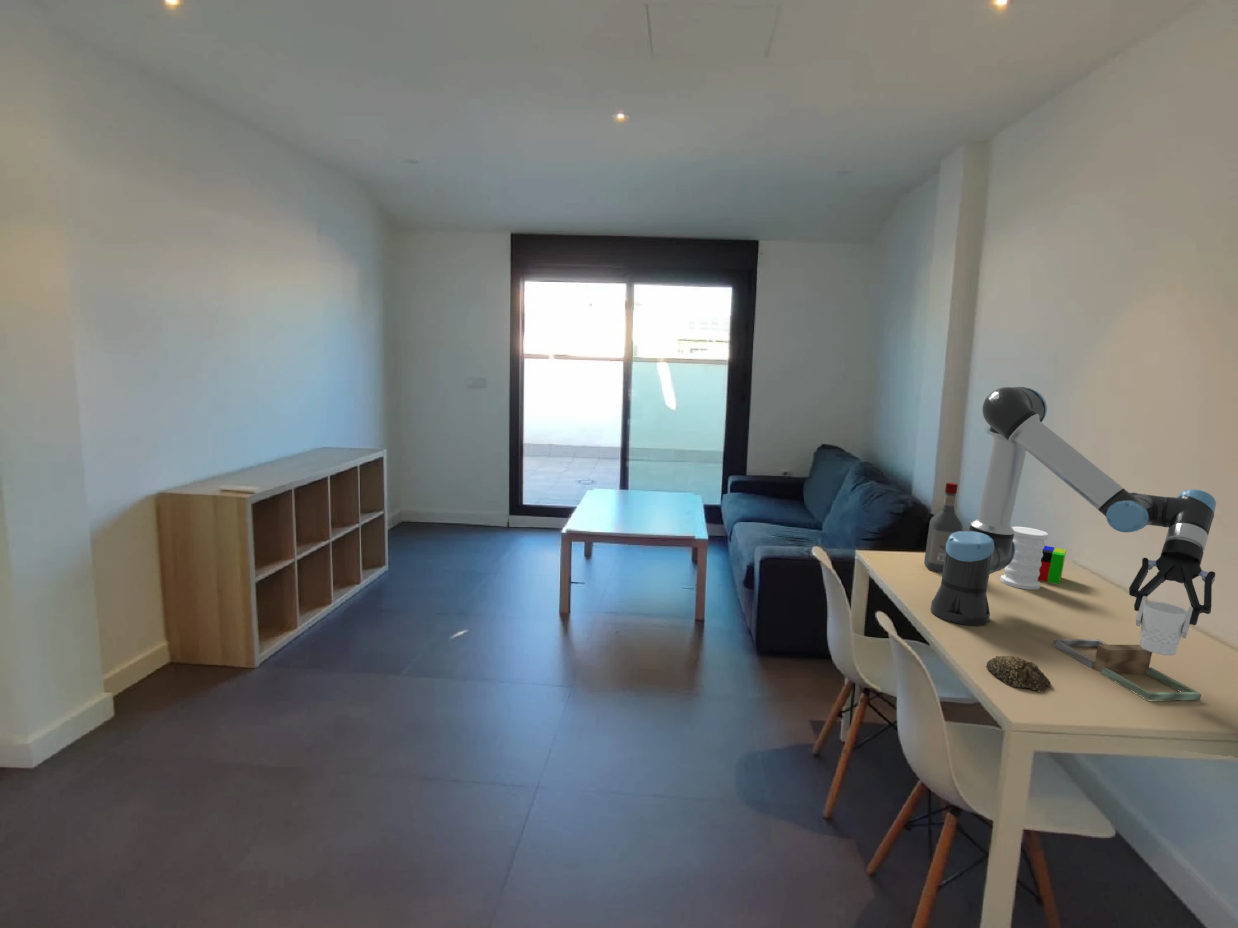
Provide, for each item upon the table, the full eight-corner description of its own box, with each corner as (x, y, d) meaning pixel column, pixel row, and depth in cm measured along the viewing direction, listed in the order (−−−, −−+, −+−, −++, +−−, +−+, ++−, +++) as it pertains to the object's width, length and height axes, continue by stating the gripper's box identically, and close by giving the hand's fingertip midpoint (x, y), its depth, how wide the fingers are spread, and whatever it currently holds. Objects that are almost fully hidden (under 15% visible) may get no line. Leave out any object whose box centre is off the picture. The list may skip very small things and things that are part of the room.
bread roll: (980, 664, 171) (983, 644, 170) (1034, 669, 170) (1037, 650, 169) (1002, 689, 159) (1006, 668, 158) (1061, 695, 157) (1065, 674, 157)
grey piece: (1148, 701, 157) (1153, 675, 156) (1052, 644, 185) (1056, 623, 184) (1200, 700, 158) (1205, 675, 157) (1097, 644, 187) (1101, 623, 186)
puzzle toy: (1028, 570, 251) (1032, 543, 249) (1061, 577, 245) (1066, 549, 243) (1024, 577, 243) (1029, 548, 241) (1058, 584, 237) (1063, 555, 235)
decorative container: (1048, 589, 231) (1057, 535, 228) (1020, 590, 228) (1029, 536, 225) (1019, 577, 242) (1028, 525, 239) (992, 578, 239) (1000, 526, 236)
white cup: (1179, 660, 156) (1187, 616, 155) (1135, 649, 161) (1143, 607, 159) (1179, 649, 163) (1187, 607, 161) (1136, 639, 167) (1144, 598, 166)
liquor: (957, 574, 240) (970, 487, 235) (928, 571, 242) (941, 484, 237) (949, 566, 249) (962, 482, 244) (922, 563, 251) (934, 480, 246)
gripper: (1239, 567, 164) (1218, 652, 155) (1131, 546, 178) (1106, 622, 169) (1242, 548, 159) (1221, 635, 150) (1131, 528, 173) (1106, 606, 164)
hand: (1160, 628), depth 160 cm, fingers closed on white cup, 8 cm apart
